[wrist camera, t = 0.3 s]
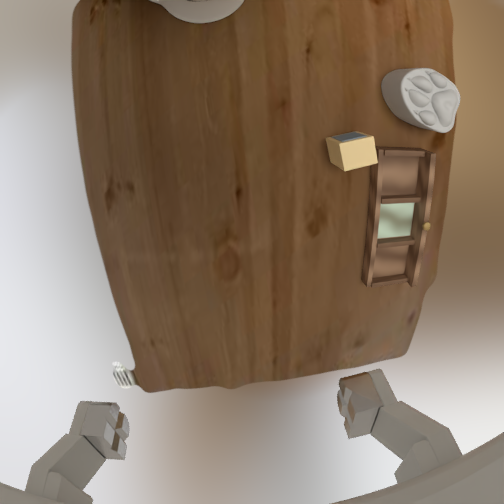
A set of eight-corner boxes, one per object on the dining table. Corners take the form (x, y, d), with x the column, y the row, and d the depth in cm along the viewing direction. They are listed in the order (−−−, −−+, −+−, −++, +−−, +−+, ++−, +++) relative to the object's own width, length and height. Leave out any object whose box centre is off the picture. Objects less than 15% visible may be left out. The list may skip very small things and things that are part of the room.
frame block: (325, 137, 51) (339, 142, 45) (356, 130, 51) (373, 135, 45) (330, 162, 53) (344, 171, 47) (360, 154, 53) (377, 163, 47)
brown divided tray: (371, 146, 52) (387, 152, 47) (420, 148, 53) (438, 154, 47) (361, 279, 65) (372, 295, 60) (405, 273, 66) (418, 287, 60)
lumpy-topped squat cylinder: (427, 133, 52) (454, 141, 44) (374, 107, 49) (398, 110, 41) (441, 87, 47) (468, 89, 40) (388, 57, 45) (414, 53, 37)
